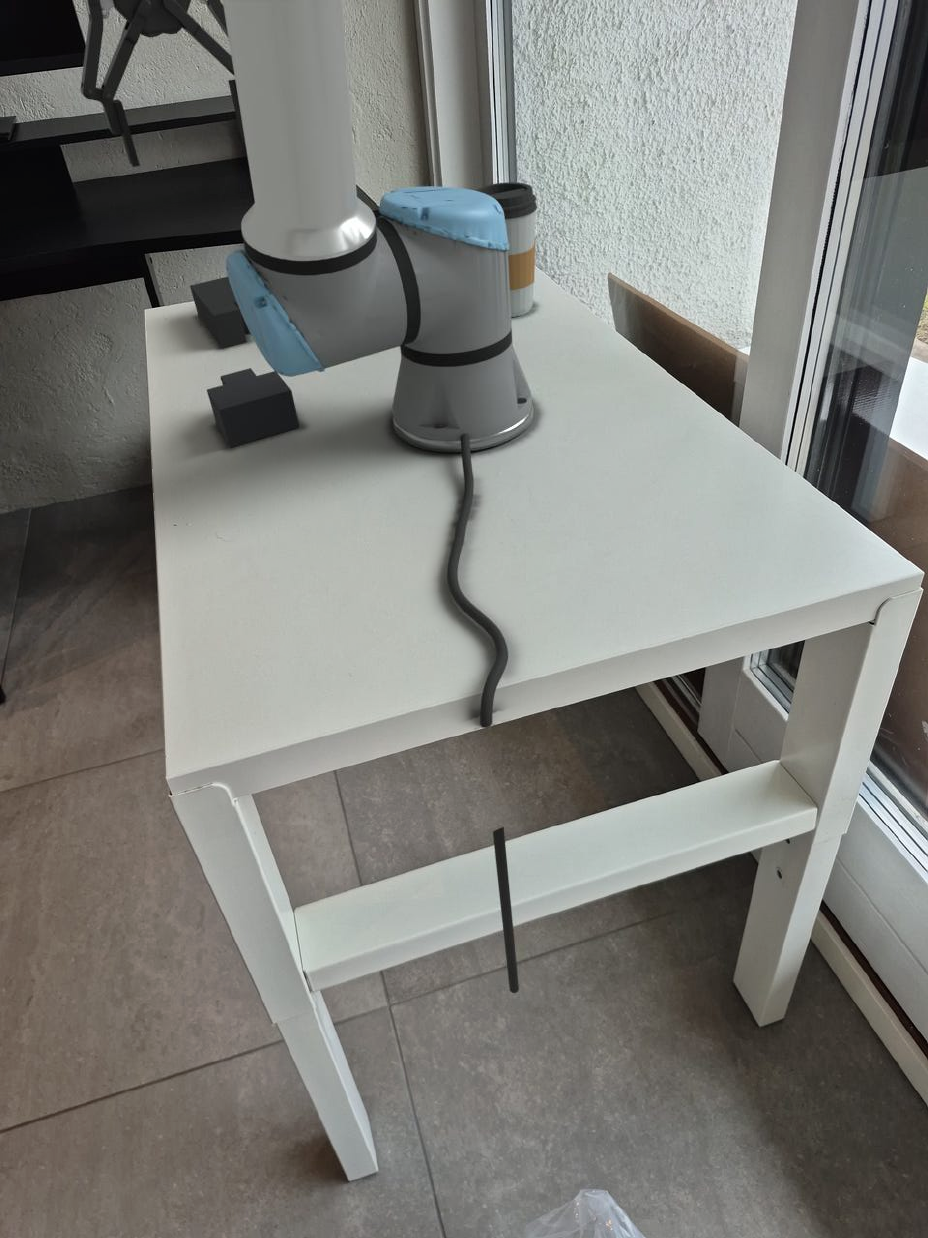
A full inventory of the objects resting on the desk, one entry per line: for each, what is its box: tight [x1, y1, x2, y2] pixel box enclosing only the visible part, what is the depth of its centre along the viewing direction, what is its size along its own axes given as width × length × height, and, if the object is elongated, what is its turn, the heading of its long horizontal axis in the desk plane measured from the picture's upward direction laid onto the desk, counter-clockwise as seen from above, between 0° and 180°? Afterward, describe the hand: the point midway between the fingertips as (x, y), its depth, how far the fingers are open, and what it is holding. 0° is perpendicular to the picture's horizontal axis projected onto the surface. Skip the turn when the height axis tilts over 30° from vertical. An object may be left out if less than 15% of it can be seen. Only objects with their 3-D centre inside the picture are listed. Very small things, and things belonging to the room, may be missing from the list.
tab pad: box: [206, 368, 300, 448], centre depth 101 cm, size 9×8×4 cm
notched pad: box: [189, 276, 251, 349], centre depth 125 cm, size 14×12×4 cm
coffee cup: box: [475, 181, 538, 318], centre depth 117 cm, size 8×8×15 cm
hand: (192, 153), depth 107 cm, fingers open, 13 cm apart
